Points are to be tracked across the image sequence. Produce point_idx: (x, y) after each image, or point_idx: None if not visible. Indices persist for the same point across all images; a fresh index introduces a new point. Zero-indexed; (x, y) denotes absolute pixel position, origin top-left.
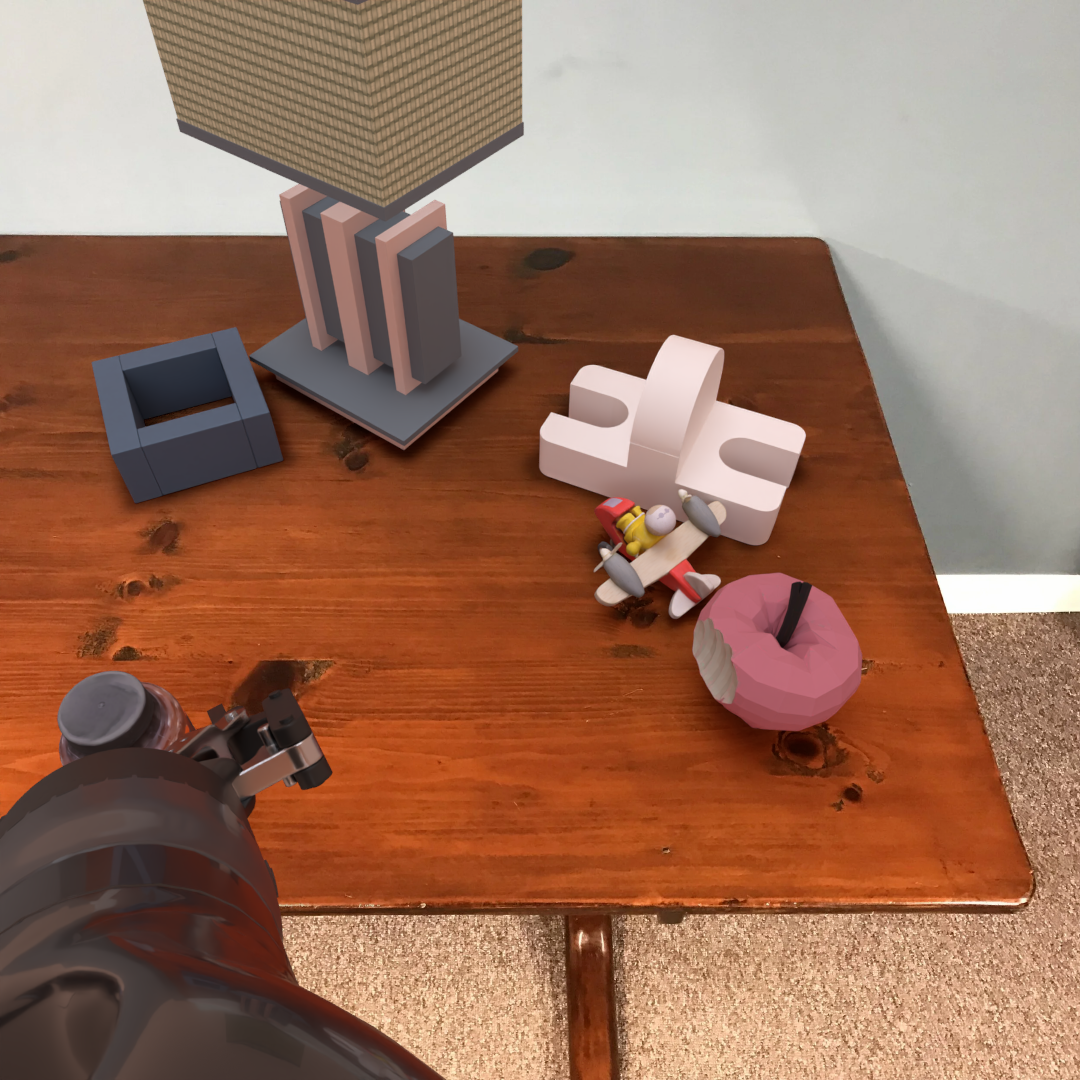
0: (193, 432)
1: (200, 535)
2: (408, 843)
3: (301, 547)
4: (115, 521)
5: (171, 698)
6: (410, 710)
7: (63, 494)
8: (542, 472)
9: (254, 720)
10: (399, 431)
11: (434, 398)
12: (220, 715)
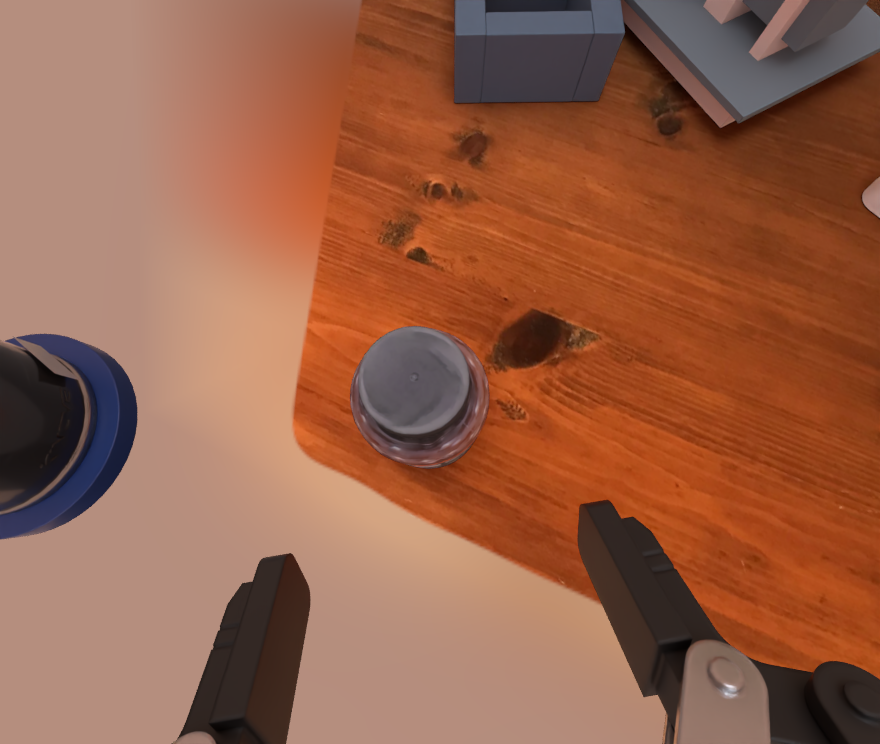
0: (541, 33)
1: (505, 156)
2: None
3: (594, 202)
4: (434, 115)
5: (483, 374)
6: (661, 418)
7: (395, 72)
8: (865, 203)
9: (780, 720)
10: (741, 103)
11: (789, 74)
12: (653, 594)
